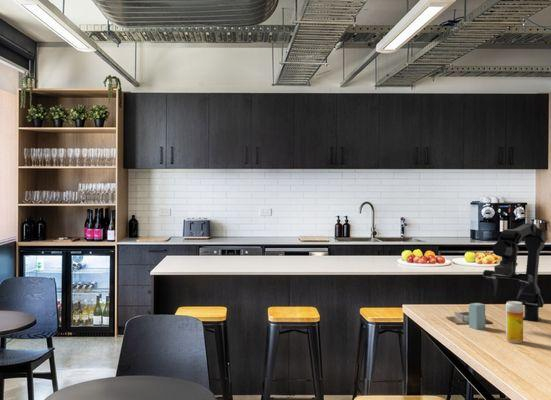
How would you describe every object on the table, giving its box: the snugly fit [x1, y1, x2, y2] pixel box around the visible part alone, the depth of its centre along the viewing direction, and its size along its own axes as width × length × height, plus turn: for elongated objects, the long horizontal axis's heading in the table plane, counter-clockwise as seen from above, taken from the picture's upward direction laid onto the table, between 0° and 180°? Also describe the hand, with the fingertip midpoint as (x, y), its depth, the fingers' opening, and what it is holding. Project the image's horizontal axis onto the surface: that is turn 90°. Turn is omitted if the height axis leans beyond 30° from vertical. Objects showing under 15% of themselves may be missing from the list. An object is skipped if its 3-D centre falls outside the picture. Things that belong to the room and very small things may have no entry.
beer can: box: [505, 300, 524, 344], centre depth 201 cm, size 6×6×15 cm
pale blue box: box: [468, 302, 486, 331], centre depth 222 cm, size 6×4×10 cm, turn 116°
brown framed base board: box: [445, 311, 494, 326], centre depth 234 cm, size 16×12×3 cm
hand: (505, 296), depth 218 cm, fingers open, 9 cm apart
